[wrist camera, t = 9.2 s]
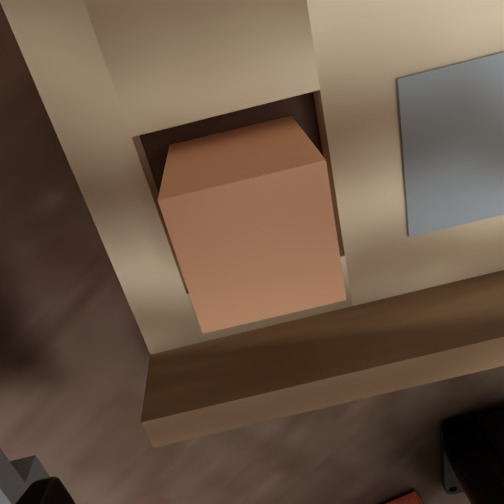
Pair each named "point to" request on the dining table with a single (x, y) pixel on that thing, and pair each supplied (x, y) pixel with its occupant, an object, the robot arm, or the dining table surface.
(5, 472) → the sliding cover
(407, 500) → the cracker box
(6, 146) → the dining table surface
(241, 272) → the block
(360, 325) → the puzzle board
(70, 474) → the dining table surface
